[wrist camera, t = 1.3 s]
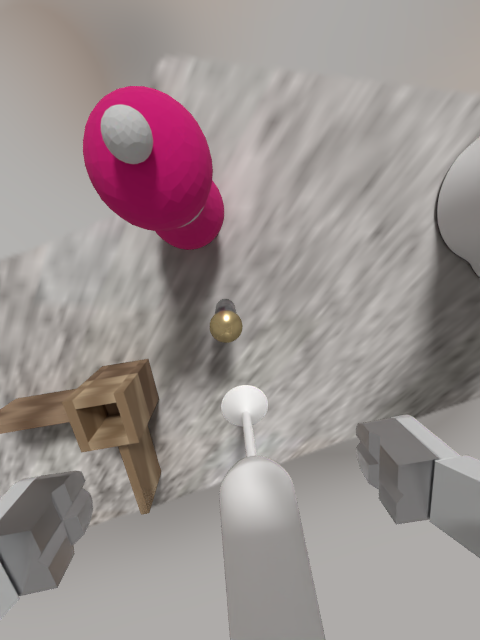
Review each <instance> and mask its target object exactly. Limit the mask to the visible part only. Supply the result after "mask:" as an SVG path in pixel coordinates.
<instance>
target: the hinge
mask: <svg viewBox="0 0 480 640" xmlns="http://www.w3.org/2000/svg"><path fill="white" fill-rule="evenodd" d="M158 400H159V397H158V393H157V390H156V386H155V382H154V378H153V375H152V371H151V367H150V363H149V360H148V359H145V360H139V361H132V362H126V363H120V364H114V365H108V366H102V367H101V368H100V369H99V370H98V371H97V372H95V373H94V374H93V375H92V376H91V377H90V378H89V379H88V380H86V381H85V382H84V383H83V384H82V385H81V386H80V387H79V388H77V389H72V390H66V391H60V392H54V393H48V394H42V395H36V396H30V397H24V398H18V399H15V400H14V401H12V402H11V403H9V404H8V405H6V406H5V407H3V408H2V409H0V434H2V433H7V432H13V431H19V430H25V429H31V428H37V427H43V426H49V425H55V424H61V423H67V422H70V424H71V427H72V429H73V432H74V434H75V437H76V439H77V442H78V445H79V447H80V450H81V452H86V451H92V450H98V449H104V448H110V447H115V446H118V448H119V451H120V453H121V456H122V459H123V462H124V465H125V468H126V471H127V474H128V477H129V480H130V483H131V486H132V489H133V492H134V495H135V498H136V501H137V504H138V507H139V510H140V513H141V514H147V513H149V512H150V508H151V505H152V502H153V498H154V495H155V491H156V488H157V485H158V481H159V478H160V474H161V469H160V466H159V463H158V459H157V456H156V452H155V449H154V446H153V442H152V439H151V435H150V432H149V428H148V425H147V424H148V422H149V420H150V418H151V415H152V413H153V411H154V409H155V407H156V405H157V402H158Z"/></svg>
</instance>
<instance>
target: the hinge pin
mask: <svg viewBox="0 0 480 640" xmlns="http://www.w3.org/2000/svg"><path fill="white" fill-rule="evenodd" d="M210 332H211V334H212V336H213V337H214V338H215V339H216V340H218V341H220V342H224V343H227V342H232V341H234V340H236V339H237V338H238V337H239V336H240V334H241V332H242V322H241V319H240V317H239V316H238V315H237V314H236V310H235V305H234V303H233V302H232V301H231V300H229V299H222V300H220V301H219V302H218V303H217V305H216V310H215V315H214V316H213V317H212V319H211V322H210Z"/></svg>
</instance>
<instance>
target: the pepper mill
mask: <svg viewBox="0 0 480 640" xmlns="http://www.w3.org/2000/svg"><path fill="white" fill-rule="evenodd" d="M83 155H84V161H85V166H86V169H87V172H88V175H89V178H90V180H91V182H92V184H93V186H94V188H95V190H96V191H97V193H98V194H99V196H100V197H101V199H102V200H103V201H104V202H105V203H106V205H107V206H108V207H109V208H110V209H111V210H112V211H114V212H115V213H116V214H117V215H119V216H120V217H121V218H123V219H124V220H126V221H127V222H129V223H131V224H132V225H135V226H138V227H141V228H144V229H147V230H153V231H156V233H157V234H158V235H159V236H160V237H161V238H162V239H163V240H165V241H166V242H167V243H169V244H170V245H172V246H174V247H177V248H180V249H186V250H191V249H198V248H201V247H203V246H205V245H207V244H209V243H210V242H211V241H212V240H213V239H214V238H215V237H216V236H217V235H218V233H219V231H220V229H221V227H222V224H223V219H224V205H223V201H222V197H221V195H220V192H219V190H218V188H217V187H216V185H215V184H214V182H213V181H212V173H213V169H212V159H211V155H210V150H209V147H208V144H207V141H206V138H205V136H204V134H203V132H202V130H201V128H200V126H199V125H198V123H197V122H196V120H195V119H194V118H193V116H192V115H191V114H190V112H189V111H187V110H186V109H185V108H184V107H183V106H182V105H181V104H180V103H179V102H177V101H176V100H175V99H173V98H172V97H170V96H169V95H167V94H165V93H163V92H161V91H158V90H156V89H152V88H148V87H144V86H128V87H125V88H120V89H117V90H115V91H113V92H111V93H109V94H108V95H106V96H104V97H103V98H102V99H101V100H100V101H99V102H98V103H97V105H96V106H95V108H94V109H93V111H92V112H91V114H90V116H89V118H88V121H87V123H86V126H85V133H84V139H83Z"/></svg>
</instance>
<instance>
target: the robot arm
mask: <svg viewBox="0 0 480 640" xmlns="http://www.w3.org/2000/svg"><path fill="white" fill-rule="evenodd" d="M437 217H438V225H439V229H440V232H441V235H442V237H443V239H444V241H445V243H446V244H447V246H448V247H449V248H450V249H451V250H452V251H453V252H454V253H455V254H457V255H458V256H460V257H462V258H463V259H465V260H467V261H468V262H469V263H470V264H471V266H472V268H473V270H474V271H475V273H476V274H477V275H478V276H479V277H480V137H479V138H478V139H477V140H475V141H474V142H473V143H472V144H471V145H470V146H469V147H467V148H466V149H465V150H464V151H463V152H462V153H461V154H460V156H459V157H458V158H457V159H456V161H455V162H454V163H453V165H452V166H451V168H450V170H449V171H448V173H447V175H446V177H445V180H444V182H443V185H442V187H441V191H440V194H439V199H438V208H437ZM356 436H357V437H358V438H359V439H360V443H359V444H358V446H357V447H356V453H357V460H358V463H359V467H360V469H361V471H362V473H363V475H364V477H365V478H366V480H367V481H368V483H369V484H371V485H372V486H374V487H375V488H377V489H379V499H380V501H381V503H382V504H383V506H384V507H385V508H386V510H387V512H388V513H389V515H390V516H391V518H392V519H393V521H394V522H395V523H396V524H402V523H408V522H415V521H422V520H428V519H430V522H431V523H432V524H434V525H435V526H437V527H438V528H439V529H441V530H442V531H443V532H445V533H446V534H448V535H449V536H450V537H452V538H453V539H454V540H456V541H457V542H459V543H460V544H461V545H463V546H464V547H465V548H467V549H468V550H469V551H471V552H472V553H474V554H475V555H476V556H478V557H479V558H480V460H479V459H476V458H474V457H471V456H469V455H463V456H461V455H459V454H458V453H457V452H456V451H454V450H453V449H452V448H451V447H450V446H448V445H447V444H446V443H445V442H443V441H442V440H441V439H440V438H439V437H437V436H436V435H435V434H434V433H432V432H431V431H430V430H429V429H427V428H426V427H425V426H424V425H422V424H421V423H420V422H419V421H418V420H416V419H415V418H414V417H413V416H410V415H408V414H406V415H400V416H395V417H390V418H386V419H380V420H374V421H369V422H363V423H358V424H357V427H356ZM84 483H85V479H84V476H83V474H82V472H80V471H70V472H63V473H56V474H49V475H42V476H38V477H31V478H24V479H22V480H20V481H18V482H16V483H15V484H14V485H13V486H12V487H11V488H10V489H9V490H8V491H7V492H6V493H5V494H4V495H3V496H2V498H1V499H0V620H1V619H2V617H4V615H5V614H6V613H7V612H8V611H9V610H10V609H11V607H12V606H13V605H14V604H15V603H16V602H17V601H18V600H19V596H22V595H27V594H31V593H35V592H40V591H45V590H49V589H54V588H58V586H59V584H60V582H61V579H62V577H63V576H64V574H65V572H66V570H67V568H68V566H69V564H70V562H71V560H72V558H73V555H74V547H73V545H74V544H75V543H76V542H77V541H78V540H79V539H80V538H81V537H82V536H83V535H84V534H85V532H86V530H87V527H88V525H89V523H90V520H91V515H92V511H93V502H92V498H91V495H90V493H89V492H88V491H86V490H85V489H83V488H82V487H83V485H84Z"/></svg>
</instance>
